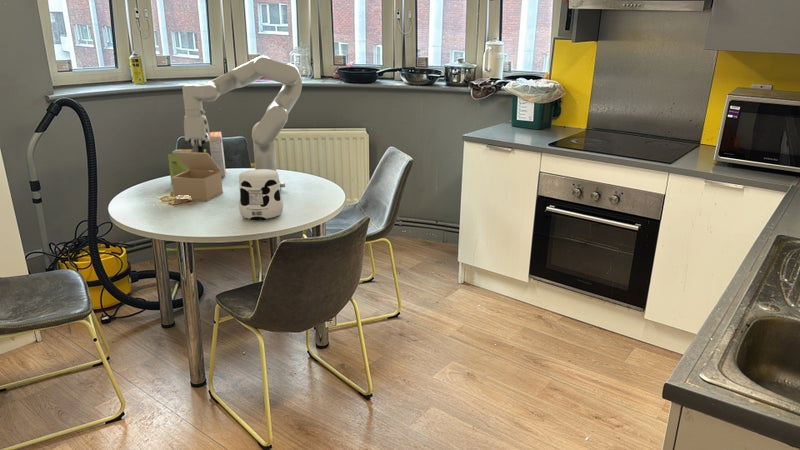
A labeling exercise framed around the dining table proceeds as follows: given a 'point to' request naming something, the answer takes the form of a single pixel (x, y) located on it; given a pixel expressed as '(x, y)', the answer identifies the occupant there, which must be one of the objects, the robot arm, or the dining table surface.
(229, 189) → the dining table surface
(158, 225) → the dining table surface
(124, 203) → the dining table surface
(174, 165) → the protein box
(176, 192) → the carton
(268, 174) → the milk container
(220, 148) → the cracker box
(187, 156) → the lid flap
